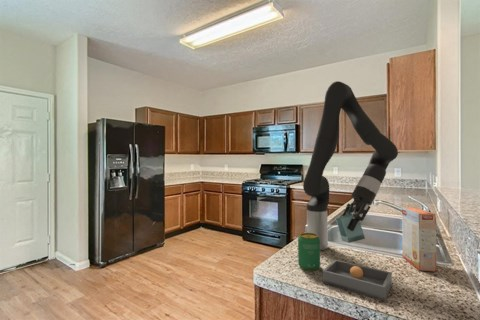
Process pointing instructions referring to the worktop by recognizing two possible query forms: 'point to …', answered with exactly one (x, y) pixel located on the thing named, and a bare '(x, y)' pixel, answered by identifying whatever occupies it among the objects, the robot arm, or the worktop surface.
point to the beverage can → (309, 251)
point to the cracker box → (419, 238)
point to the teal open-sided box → (348, 234)
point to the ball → (356, 272)
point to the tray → (369, 285)
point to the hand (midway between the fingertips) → (346, 228)
